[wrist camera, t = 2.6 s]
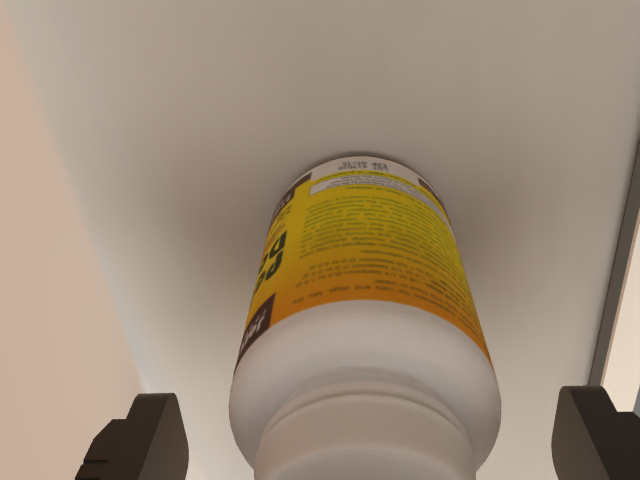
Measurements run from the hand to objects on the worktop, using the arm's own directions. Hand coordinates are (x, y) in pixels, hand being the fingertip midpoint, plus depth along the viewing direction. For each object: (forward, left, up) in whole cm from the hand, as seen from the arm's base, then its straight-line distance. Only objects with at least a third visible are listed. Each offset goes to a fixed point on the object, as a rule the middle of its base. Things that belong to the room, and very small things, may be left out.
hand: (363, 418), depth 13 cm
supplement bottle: (0, 0, -8) cm, 8 cm away
